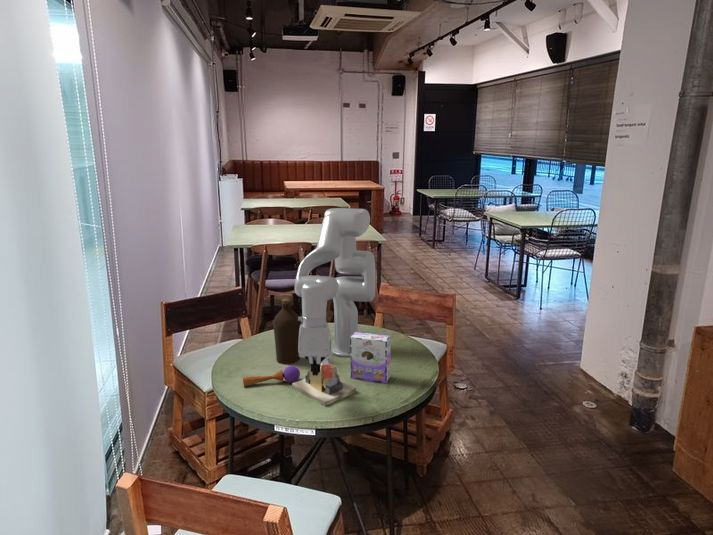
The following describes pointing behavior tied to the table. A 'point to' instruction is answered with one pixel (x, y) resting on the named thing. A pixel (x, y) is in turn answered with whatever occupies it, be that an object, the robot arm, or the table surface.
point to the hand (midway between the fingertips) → (315, 373)
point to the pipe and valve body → (325, 381)
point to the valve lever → (326, 369)
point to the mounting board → (322, 396)
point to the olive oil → (286, 334)
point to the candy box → (370, 357)
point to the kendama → (275, 376)
